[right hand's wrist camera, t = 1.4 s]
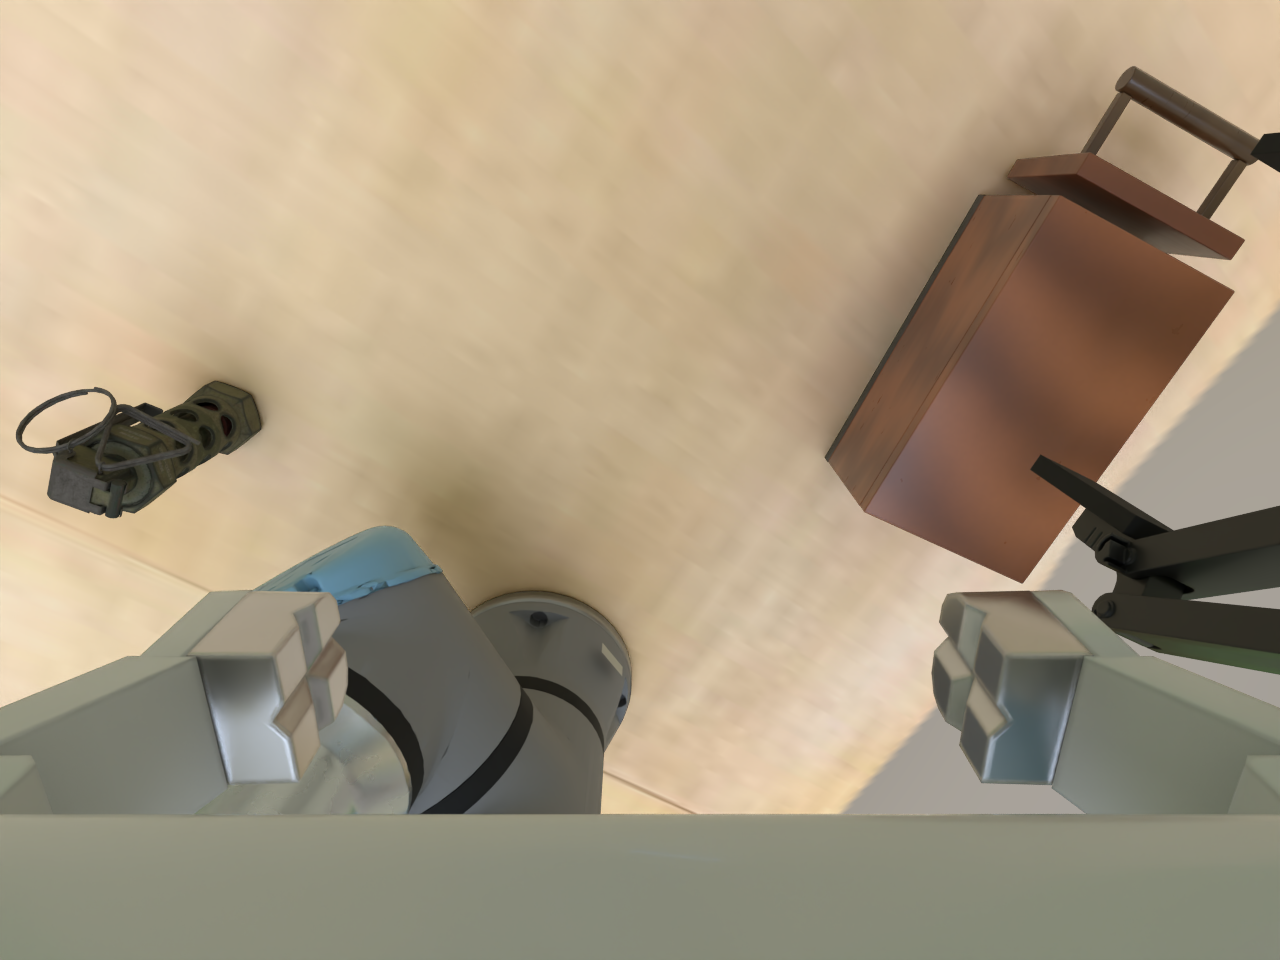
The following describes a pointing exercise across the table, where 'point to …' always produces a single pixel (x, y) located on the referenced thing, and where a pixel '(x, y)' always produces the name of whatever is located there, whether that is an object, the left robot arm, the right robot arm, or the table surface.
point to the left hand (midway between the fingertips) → (1164, 329)
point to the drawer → (1134, 199)
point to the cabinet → (1019, 376)
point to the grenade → (143, 447)
